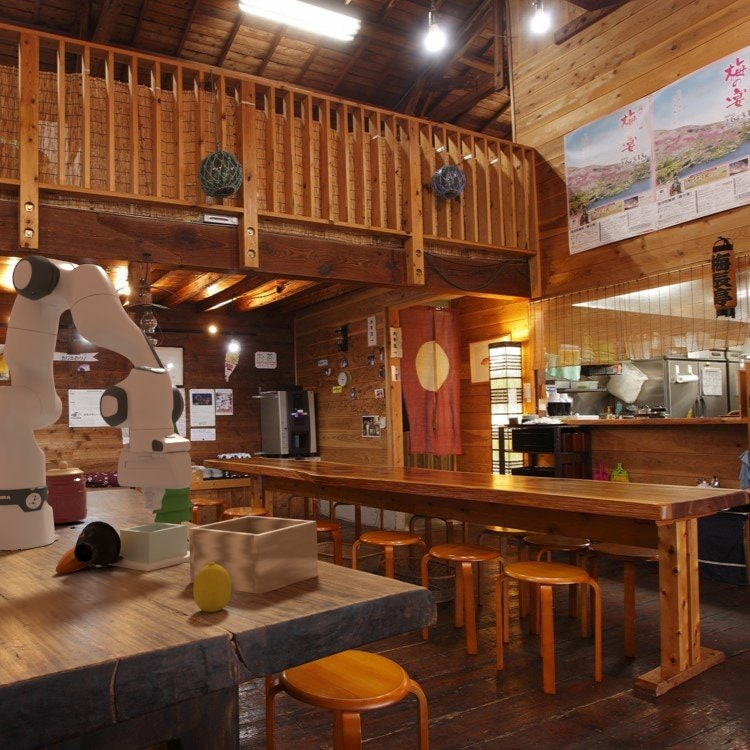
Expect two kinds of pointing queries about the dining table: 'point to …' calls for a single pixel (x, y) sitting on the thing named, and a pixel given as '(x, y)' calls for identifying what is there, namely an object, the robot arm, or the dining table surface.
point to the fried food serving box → (257, 551)
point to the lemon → (212, 588)
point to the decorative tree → (174, 504)
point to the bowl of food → (98, 545)
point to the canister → (67, 493)
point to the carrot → (70, 562)
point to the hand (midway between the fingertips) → (153, 509)
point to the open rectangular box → (153, 546)
